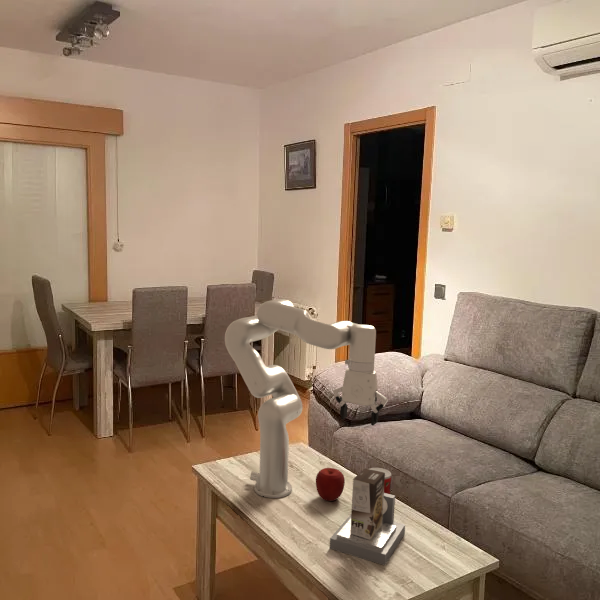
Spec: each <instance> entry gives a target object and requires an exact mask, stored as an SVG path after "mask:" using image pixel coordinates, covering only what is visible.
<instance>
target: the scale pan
mask: <svg viewBox="0 0 600 600" xmlns="http://www.w3.org/2000/svg"><path fill="white" fill-rule="evenodd" d="M350 529H351V519H350V520H349V521H348V522H347V523H346V524H345V526H344V527H343V528H342V529H341V530H340V531H339V533H338V534H337V538H338V539H341V540H345V541H348V542H352V543H355V544H358V545H362V546H365V547H369V548H372V549H375V550H379V551H382V550H383V548H384V547H385V545H386V544H387V542H388V541H389V539H390V538H391V536H392V535H393V533H394V532H395V530H396V526H395V525H391V524H387V523H383V522H382V527H381V528H380V529H379V530H378V531H377V533H376V534H375V535H374V536H373V537H372V539H371V540H369V539H366V538H363V537H360V536H356V535H353V534H351V533H350Z"/></svg>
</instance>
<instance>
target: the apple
mask: <svg viewBox="0 0 600 600" xmlns="http://www.w3.org/2000/svg"><path fill="white" fill-rule="evenodd" d="M345 481H346V479H345V476H344V473H342V472H341V471H340V469H337V468H334V467H325V468H322V469H320V470H318V472H317V474H316V477H315V487H316V491H317V493H318V495H319V498H321V499H322V500H323V501H328V502H333V501H336V500H338V499H339V498H340V497H341V496H342V493H343V491H344V489H345V485H346V482H345Z"/></svg>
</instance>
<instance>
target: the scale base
mask: <svg viewBox="0 0 600 600" xmlns="http://www.w3.org/2000/svg"><path fill="white" fill-rule="evenodd" d="M395 505H396V495H394V494H391V493H390V494H387V493H384V499H383V519H382V522H383V523H387V524H391V525H395V526H396V530H395V532H394V533H393V535H392V536H391V538H390V539H389V541H388V542H387V544H386V545H385V547H384V548H383V550H382V551H379V550H375V549H372V548H369V547H365V546H362V545H358V544H355V543H352V542H348V541H345V540H341V539H338V538H337V534H338V533H339V531H340V530H341V529H342V528H343V527H344V526H345V524H346V523H347V522H348V521H349V520H350V519H351V514H350V515H349V516H348V517H347V518H346V519H345V521H344V522H343V523H342V524H341V525H340V526H339V528H338V529H336V531H335V532H334V533H333V534H332V535H331V537H330V538H329V549H331V550H334V551H337V552H340V553H344V554H347V555H350V556H353V557H357V558H359V559H363V560H366V561H370V562H372V563H377V564H379V565H382V566H386V564H387V563H388V561H389V560H390V558H391V557H392V555H393V554H394V551H396V548H397V547H398V546H399V544H400V542H401V540H402V539H403V537H404V536H405V534H406V524H404V523H401V522H398V521H395Z"/></svg>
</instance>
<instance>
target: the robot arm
mask: <svg viewBox="0 0 600 600" xmlns="http://www.w3.org/2000/svg"><path fill="white" fill-rule="evenodd" d="M278 331H282V332H285V333H288V334H291V335H294V336H297V338H299V339H300V340H301V341H302V342H305V343H306V344H309V345H311V346H314V347H317V348H321V349H324V350H336V349H338V348H342V347H345V346H348V345H349V355H348V356H349V357H348V359H345V361H344V364H345V365H347V367H348V368H346V369H345V373H344V378H343V381H342V382H343V383H342V386H340V387H337V388H335V389H333V390H332V394H333V396H334V398H335V401H336V402H337V403H338V406H339V407H340V409H339V410H340V411H339V413H340V414H339V415H340V419H341V420H345V419H346V418H347V417H348V406H349V405H348V404H352V405H358V406H364V407H370V408H371V410H372V412H371V415H370V416H371V417H370V426H375V425H376V424H377V423H378V422H379V413H380V411H381V409H383V408H384V407H385V406H386V404H387V403H388V401H389V399H388V397H386V396H385V395H384V394H382V393H381V392H379V391H378V377H377V372H376V370H375V358H376V339H377V330H376V328H375V327H374V326H373V325H371V324H370V325H369V324H362V323H361V324H358V323H355V322H351V321H350V320H340V321H336V322H331V323H324V322H320V321H316V320H314V319H311V318H310V317H309V313H308V312H307V310H306V309H303V308H299V307H295V306H294V304H293V303H292V302H291V301H290V300H288V299H285V298H278V299H272V300H267V301H264V302H262V303H261V304H260V305H259V306H258V308H257V311H256V315H252V316H247V317H242V318H238V319H235V320H234V321H232V322H231V323H230V324H229V325H228V326H227V327H226V331H225V334H224V344H225V348H226V350H227V353H228V354H229V356H230V357H231V359H232V360H233V361H234V363H235V366H236V367H237V369H238V371H239V373H240V375H241V377H242V379H243V381H244V383H245V385H246V387H247V389H248V391H249V392H250V394H251V395H252V396H253V397H254V398H257V399H261V398H266V397H268V396H270V395H271V396H272V397H271V398H269V399H267V400H265V401H264V402H263V403H262V404H261V405H260V407H259V408H258V411H257V419H258V424H259V433H260V434H259V436H260V437H259V441H260V442H259V472H257V471H251V472H250V475H249V476H250V477H249V480H251V481H255V484H254V491H255V493H256V494H257V495H259V496H261V497H263V496H264V498H269V499H276V498H277V499H278V498H283V497H286V496H288V495H290V494H291V493H292V491H293V486H292V484H291V483H290V482H289V478H288V477H289V449H290V448H289V447H290V446H289V445H290V444H289V443H290V440H289V438H290V437H289V433H288V430H287V426H286V425H287V424H288V423H289V422H292V421H294V420H295V419H297V418H299V416H301V414H302V412H303V402H302V399H301V396H300V395H299V393H298V391H297V389H296V387H295V386H294V383H293V381H292V380H291V378H290V376H289V374H288V373H287V371H286V369H284V368H283V367H282V366H281V365H277V364H269V365H266V364H265V362H264V360H263V359H262V357H261V355H260V354H259V352H258V351H257V350H256V349H255V348H254V347H253V346H252V345H251V344H250V343H252V342H257V341H260V340H264V339H267V338H269V337H270V336H272V335H273V334H275V332H278ZM340 393H341V395H340ZM378 399H379V400H380V401H381V402H380V404H378V403H377V401H378Z"/></svg>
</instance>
